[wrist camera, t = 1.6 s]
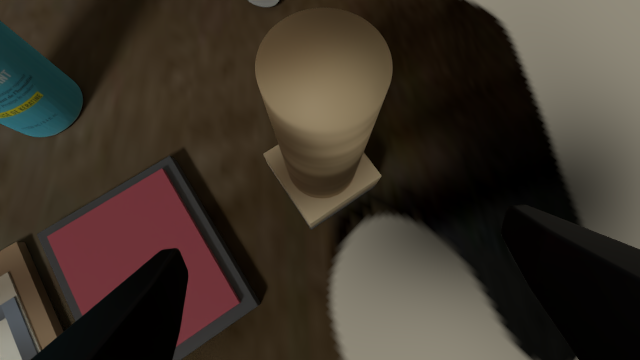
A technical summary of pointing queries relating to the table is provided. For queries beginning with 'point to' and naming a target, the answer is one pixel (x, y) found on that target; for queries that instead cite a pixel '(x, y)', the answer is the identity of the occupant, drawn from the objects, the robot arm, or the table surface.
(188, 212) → the ink pad
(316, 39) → the stamp
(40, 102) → the tube
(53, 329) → the wooden picture frame
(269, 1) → the pale two-lobed sculpture
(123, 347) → the robot arm
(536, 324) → the table surface
